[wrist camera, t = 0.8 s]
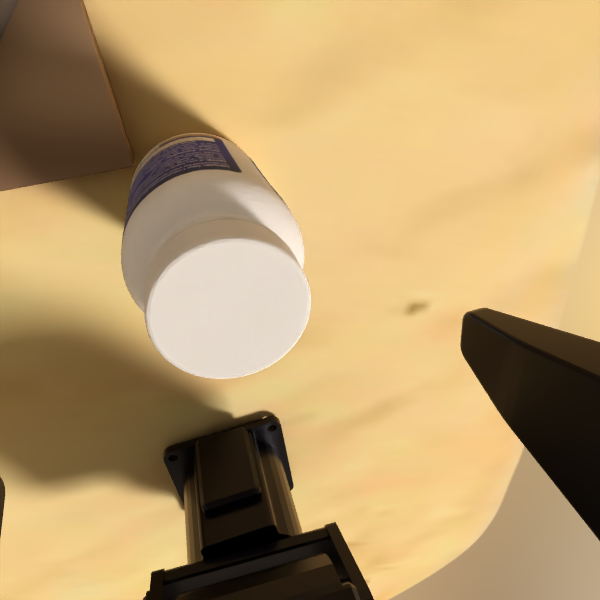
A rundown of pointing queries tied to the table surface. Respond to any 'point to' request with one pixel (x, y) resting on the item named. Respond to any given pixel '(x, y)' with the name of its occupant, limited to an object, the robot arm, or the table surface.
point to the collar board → (54, 96)
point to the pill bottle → (213, 259)
